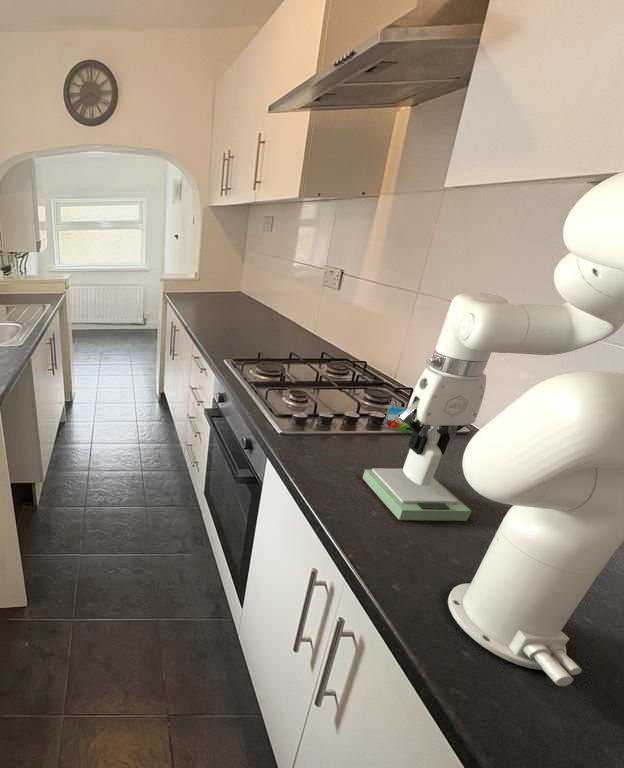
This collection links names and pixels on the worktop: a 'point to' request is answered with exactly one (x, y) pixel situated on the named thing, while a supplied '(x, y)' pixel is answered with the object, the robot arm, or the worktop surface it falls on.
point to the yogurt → (394, 421)
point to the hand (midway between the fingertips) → (425, 450)
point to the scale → (414, 497)
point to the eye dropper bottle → (424, 460)
